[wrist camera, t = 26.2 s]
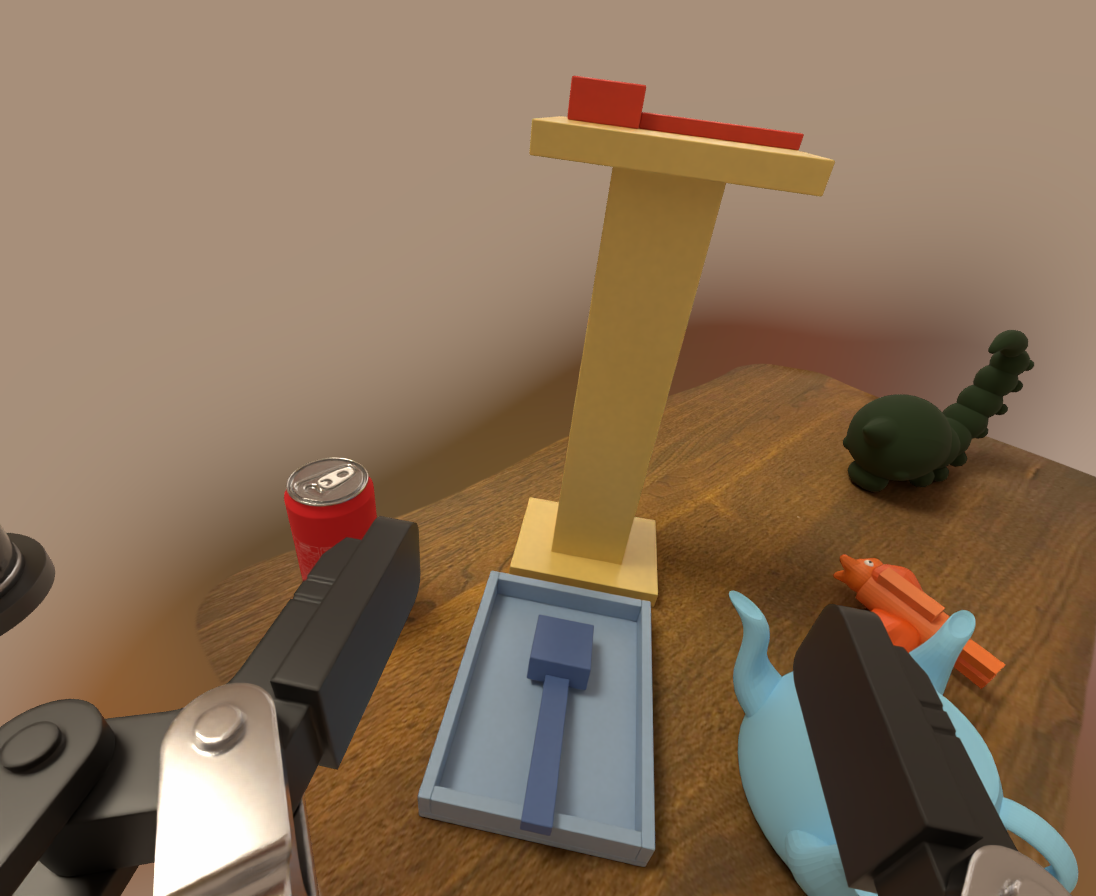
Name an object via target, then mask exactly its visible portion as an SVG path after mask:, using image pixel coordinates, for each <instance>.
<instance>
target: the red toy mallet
mask: <svg viewBox="0 0 1096 896" xmlns="http://www.w3.org/2000/svg"><path fill="white" fill-rule="evenodd" d="M645 91H646V85H641V84H633V83H626V82H618V81H611V80H603V79H595V78H588V77H580V76H572V82H571V90H570V100H569V108H568V117H567V118H568V119H569V120H575V121H582V122H590V123H597V124H604V125H611V126H619V127H626V128H633V129H638V128H640V129H645V130H653V131H660V132H667V133H675V134H682V135H689V136H696V137H704V138H711V139H718V140H725V141H733V142H740V143H747V144H755V145H762V146H769V147H776V148H784V149H791V150H799V148H800V145H801V142H802V138H803V136H804V135H803V134H801V133H794V132H786V131H779V130H771V129H765V128H757V127H750V126H743V125H735V124H728V123H720V122H713V121H705V120H698V119H691V118H683V117H675V116H669V115H661V114H653V113H646V112H642V108H643V102H644V96H645Z"/></svg>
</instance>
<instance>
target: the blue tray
mask: <svg viewBox="0 0 1096 896" xmlns="http://www.w3.org/2000/svg"><path fill="white" fill-rule="evenodd" d="M539 614H541V615H546V616H551V617H556V618H561V619H566V620H571V621H576V622H581V623H586V624H591V625H594V634H593V648H592V662H591V672H590V676H589V680H588V684H587V689H586V690H580V689H575V688H571V687H569V690H568V699H567V707H566V716H565V725H564V733H563V742H562V751H561V760H560V768H559V777H558V786H557V795H556V803H555V812H554V821H553V828H552V833H551V836H546V835H542V834H538V833H533V832H529V831H524V830H521V829H520V822H521V817H522V811H523V805H524V799H525V793H526V787H527V781H528V775H529V769H530V763H531V757H532V751H533V745H534V739H535V733H536V728H537V722H538V716H539V710H540V704H541V698H542V692H543V686H544V682H542V681H537V680H532V679H528V678H527V671H528V665H529V659H530V654H531V649H532V644H533V639H534V635H535V630H536V625H537V620H538V616H539ZM418 807H419V816H422V817H427V818H431V819H436V820H440V821H444V822H449V823H453V824H457V825H462V826H466V827H471V828H475V829H479V830H484V831H488V832H493V833H497V834H501V835H506V836H510V837H514V838H519V839H523V840H528V841H532V842H536V843H541V844H545V845H549V846H554V847H558V848H563V849H567V850H571V851H576V852H580V853H585V854H589V855H593V856H598V857H602V858H606V859H611V860H615V861H620V862H624V863H628V864H633V865H637V866H642V867H645V866H646V865H647V863H648V861H649V859H650V858H651V856H652V854H653V853H654V851H655V810H654V755H653V700H652V645H651V602H650V601H645V600H642V601H641V600H640V599H634V598H629V597H624V596H619V595H614V594H609V593H604V592H599V591H593V590H588V589H583V588H578V587H573V586H568V585H563V584H558V583H553V582H547V581H542V580H537V579H532V578H527V577H522V576H517V575H512V574H506V573H500V572H496V571H491V573H490V576H489V579H488V582H487V585H486V588H485V591H484V594H483V597H482V600H481V603H480V606H479V609H478V613H477V616H476V619H475V622H474V625H473V628H472V631H471V634H470V637H469V640H468V643H467V646H466V649H465V652H464V655H463V658H462V662H461V665H460V668H459V671H458V674H457V677H456V680H455V683H454V686H453V689H452V692H451V695H450V698H449V701H448V704H447V707H446V711H445V714H444V717H443V720H442V723H441V726H440V729H439V732H438V735H437V738H436V741H435V744H434V747H433V750H432V753H431V757H430V760H429V763H428V766H427V769H426V772H425V775H424V778H423V781H422V784H421V787H420V790H419V793H418Z"/></svg>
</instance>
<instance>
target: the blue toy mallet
mask: <svg viewBox="0 0 1096 896" xmlns="http://www.w3.org/2000/svg"><path fill="white" fill-rule="evenodd" d="M593 634H594V625H591V624H586V623H581V622H576V621H571V620H566V619H561V618H556V617H551V616H546V615H541V614H539V616H538V620H537V625H536V630H535V635H534V639H533V644H532V649H531V654H530V659H529V665H528V671H527V678H528V679H532V680H537V681H542V682H544V686H543V692H542V698H541V704H540V710H539V716H538V722H537V728H536V733H535V739H534V745H533V751H532V757H531V763H530V769H529V775H528V781H527V787H526V793H525V799H524V805H523V811H522V817H521V822H520V829H521V830H524V831H529V832H533V833H538V834H542V835H546V836H551V833H552V828H553V821H554V812H555V803H556V795H557V786H558V777H559V768H560V760H561V751H562V742H563V733H564V725H565V716H566V707H567V699H568V690H569V687H571V688H575V689H580V690H586V689H587V684H588V680H589V676H590V672H591V662H592V648H593Z"/></svg>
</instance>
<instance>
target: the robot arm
mask: <svg viewBox="0 0 1096 896" xmlns="http://www.w3.org/2000/svg"><path fill="white" fill-rule="evenodd" d="M24 564H25V563H24V557H23V555H22V553H21V552H20V550H19V549H18V547H17V546H16V545H15V544H14V543H13V542H12V541H11V540H10V538H9V537H8V535H7V534H6V532H5V531H4V529H3V528H2V526H1V525H0V598H1V597H2V596H3V595H5V594H6V593H7V592H8V591H9V590H10V589H11V588H12V587H13V586H14V584H15V583H16V582H17V581H18V579H19V578H20V576H21V574H22V572H23V569H24ZM419 583H420V552H419V529H418V525H417V523H414V522H409V521H404V520H398V519H393V518H388V517H382V516H379V517H377V518H376V519H375V520H374V522H373V523H372V524H371V526H370V528H369V529H368V531H367V532H366V534H365V535H364V537H363V538H362V540H360V539H355V538H349V537H346V538H344V539H343V540H342V541H340V542H339V543H337V544H336V545H335V546H333V547H332V548H330V549H329V550H328V551H326V552H325V553H323V554H322V556H321V557H320V559H319V560H318V561H317V563H316V564H315V566H314V567H313V568H312V570H311V571H310V573H309V574H308V575H307V579H306V581H305V580H304V581H303V582H302V584H301V585H300V586H299V588H298V589H297V591H296V592H295V593H294V597H293V599H290V600H289V602H288V603H287V605H286V606H285V607H284V609H283V610H282V612H281V613H280V614H279V616H278V617H277V619H276V620H275V621H274V623H273V624H272V625H271V627H270V628H269V630H268V631H267V632H266V634H265V635H264V637H263V638H262V639H261V641H260V642H259V644H258V645H257V646H256V648H255V649H254V651H253V652H252V653H251V655H250V656H249V658H248V659H247V660H246V662H245V663H244V665H243V666H242V667H241V669H240V670H239V671H238V672H237V674H236V675H235V676H234V677H233V678H232V679H231V680H230V681H229V682H228V683H227V684H226V685H223V686H219V687H217V688H214V689H212V690H209V691H207V692H206V693H204V694H202V695H200V696H199V697H197V698H196V699H194V700H193V701H191V702H190V703H189V704H188V705H187V706H186V707H184V708H181V709H178V710H173V711H167V712H159V713H152V714H143V715H134V716H126V717H117V718H108V719H104V717H103V716H102V715H101V713H100V712H99V710H98V709H97V708H96V707H95V706H94V705H93V704H91V703H89V702H87V701H83V700H79V699H65V700H57V701H53V702H49V703H46V704H43V705H39V706H37V707H35V708H32V709H30V710H28V711H26V712H24V713H22V714H20V715H18V716H17V717H15V718H13V719H12V720H10V721H8V722H7V723H5V724H4V725H3V726H1V727H0V896H121V894H122V892H123V891H124V889H125V887H126V886H127V884H128V883H129V881H130V879H131V878H132V876H133V874H134V873H135V871H136V869H137V868H138V866H139V865H142V864H148V863H154V862H155V870H154V889H153V896H319V891H318V884H317V877H316V870H315V863H314V856H313V849H312V843H311V836H310V829H309V822H308V815H307V808H306V801H305V794H304V792H305V790H306V788H307V786H308V784H309V782H310V780H311V778H312V776H313V774H314V772H315V770H316V768H317V766H318V765H320V766H324V767H328V768H333V769H337V770H338V767H339V765H340V763H341V761H342V759H343V757H344V754H345V752H346V750H347V748H348V746H349V744H350V741H351V739H352V737H353V735H354V733H355V731H356V728H357V726H358V724H359V722H360V720H361V717H362V715H363V713H364V711H365V709H366V707H367V704H368V702H369V700H370V698H371V696H372V694H373V691H374V689H375V687H376V685H377V683H378V681H379V678H380V676H381V674H382V672H383V670H384V668H385V665H386V663H387V661H388V659H389V657H390V655H391V652H392V650H393V648H394V646H395V644H396V642H397V639H398V637H399V635H400V633H401V631H402V629H403V626H404V624H405V622H406V620H407V618H408V616H409V613H410V611H411V609H412V607H413V605H414V602H415V599H416V596H417V593H418V588H419ZM793 678H794V684H795V688H796V692H797V696H798V700H799V703H800V707H801V711H802V715H803V718H804V722H805V726H806V730H807V734H808V737H809V741H810V745H811V749H812V752H813V756H814V760H815V764H816V768H817V771H818V775H819V779H820V783H821V786H822V790H823V794H824V798H825V801H826V805H827V809H828V813H829V817H830V820H831V824H832V828H833V832H834V835H835V839H836V843H837V847H838V850H839V854H840V858H841V862H842V866H843V869H844V873H845V877H846V881H847V884H848V887H849V888H854V889H858V890H862V891H867V892H871V893H876V894H878V896H1071V894H1070V893H1069V892H1068V891H1067V890H1066V889H1065V888H1064V886H1063V885H1062V884H1061V883H1060V882H1059V881H1058V880H1057V879H1056V878H1054V877H1053V876H1052V875H1051V874H1050V873H1049V872H1048V871H1046V870H1045V869H1044V868H1043V867H1042V866H1040V865H1039V864H1037V863H1036V862H1035V861H1033V860H1032V859H1030V858H1029V857H1027V856H1025V855H1023V854H1021V853H1020V852H1018V850H1017V849H1016V847H1015V845H1014V844H1013V842H1012V840H1011V838H1010V836H1009V834H1008V832H1007V830H1006V828H1005V826H1004V825H1003V823H1002V821H1001V819H1000V817H999V815H998V813H997V811H996V809H995V807H994V805H993V803H992V801H991V799H990V797H989V795H988V793H987V791H986V789H985V787H984V785H983V783H982V781H981V779H980V777H979V775H978V773H977V771H976V769H975V767H974V765H973V763H972V761H971V759H970V757H969V755H968V753H967V751H966V749H965V747H964V745H963V743H962V741H961V739H960V738H958V737H956V734H955V733H956V730H955V728H954V726H953V724H952V722H951V720H950V718H949V716H948V714H947V712H945V711H943V704H942V702H941V700H940V698H939V696H938V694H937V692H936V690H935V688H934V686H933V684H932V682H931V680H930V678H929V676H928V675H927V673H926V672H925V671H924V670H923V669H922V668H921V667H920V666H919V664H918V663H917V662H916V661H915V660H914V659H913V658H912V656H911V655H910V654H909V653H908V652H907V651H906V650H905V649H904V647H900V646H895V645H893V643H892V641H891V639H890V637H889V635H888V633H887V631H886V628H885V626H884V624H883V622H882V620H881V618H880V617H879V616H878V615H877V614H876V613H874V612H871V611H866V610H861V609H856V608H851V607H845V606H840V605H835V604H829V605H827V606H826V607H825V608H824V609H823V610H822V612H821V614H820V615H819V617H818V618H817V620H816V621H815V623H814V625H813V626H812V628H811V629H810V631H809V632H808V634H807V636H806V637H805V639H804V640H803V642H802V644H801V645H800V647H799V648H798V650H797V652H796V655H795V658H794V664H793Z"/></svg>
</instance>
